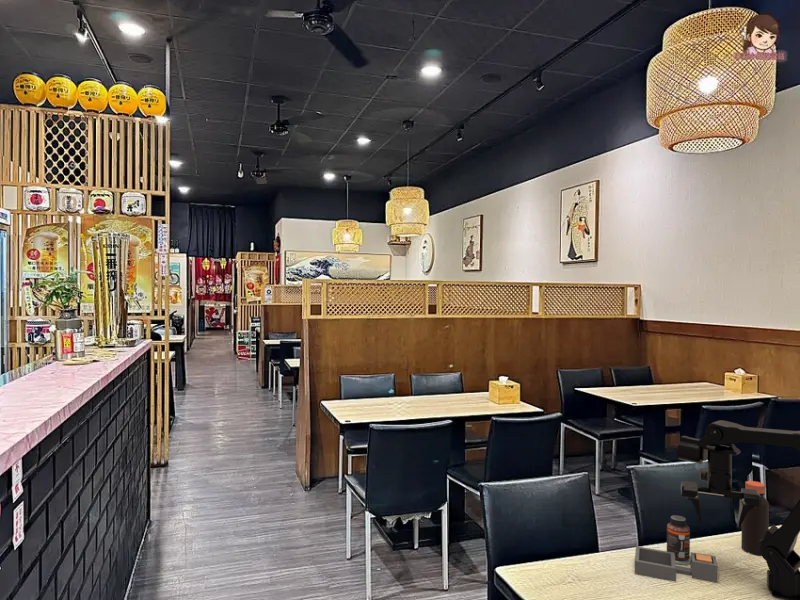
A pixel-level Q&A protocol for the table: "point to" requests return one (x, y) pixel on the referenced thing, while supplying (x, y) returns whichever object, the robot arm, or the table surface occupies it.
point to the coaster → (683, 562)
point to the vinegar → (755, 521)
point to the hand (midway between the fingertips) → (719, 524)
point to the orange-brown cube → (703, 558)
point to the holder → (672, 565)
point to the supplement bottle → (678, 538)
